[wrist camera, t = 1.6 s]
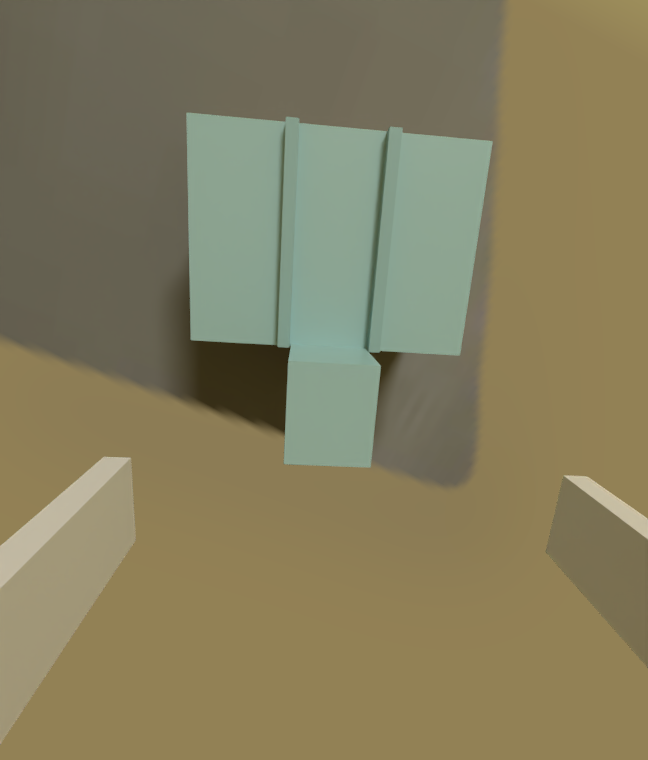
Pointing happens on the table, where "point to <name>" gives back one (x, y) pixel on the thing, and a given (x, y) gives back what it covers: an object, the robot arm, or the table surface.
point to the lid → (331, 259)
